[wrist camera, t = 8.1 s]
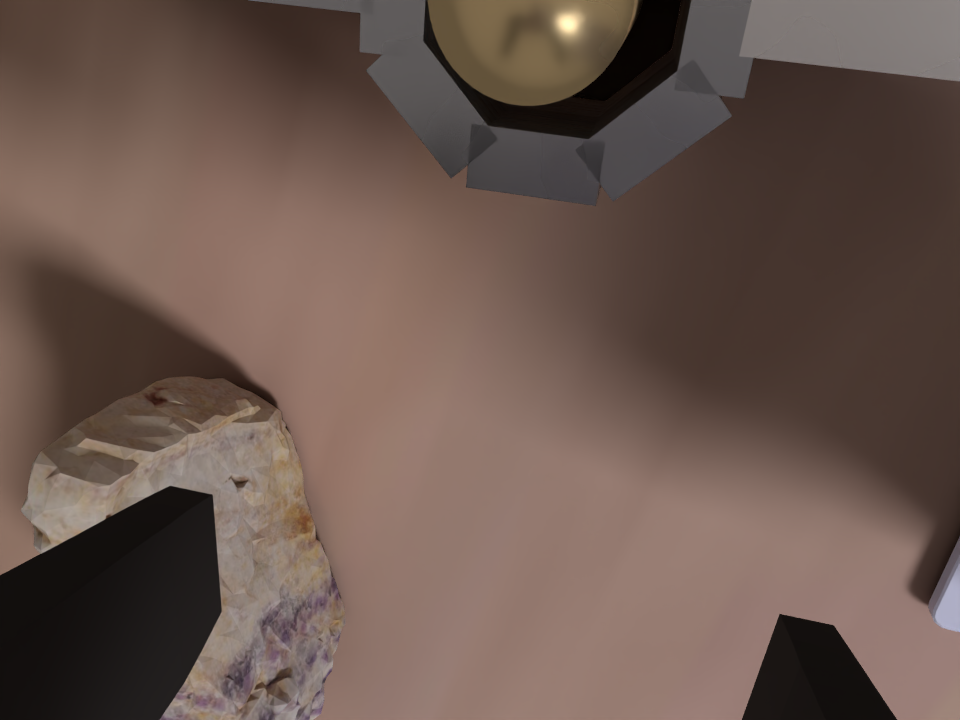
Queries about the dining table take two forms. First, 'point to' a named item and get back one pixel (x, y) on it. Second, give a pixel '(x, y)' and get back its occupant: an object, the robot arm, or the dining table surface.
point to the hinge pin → (531, 44)
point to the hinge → (635, 86)
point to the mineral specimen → (239, 535)
